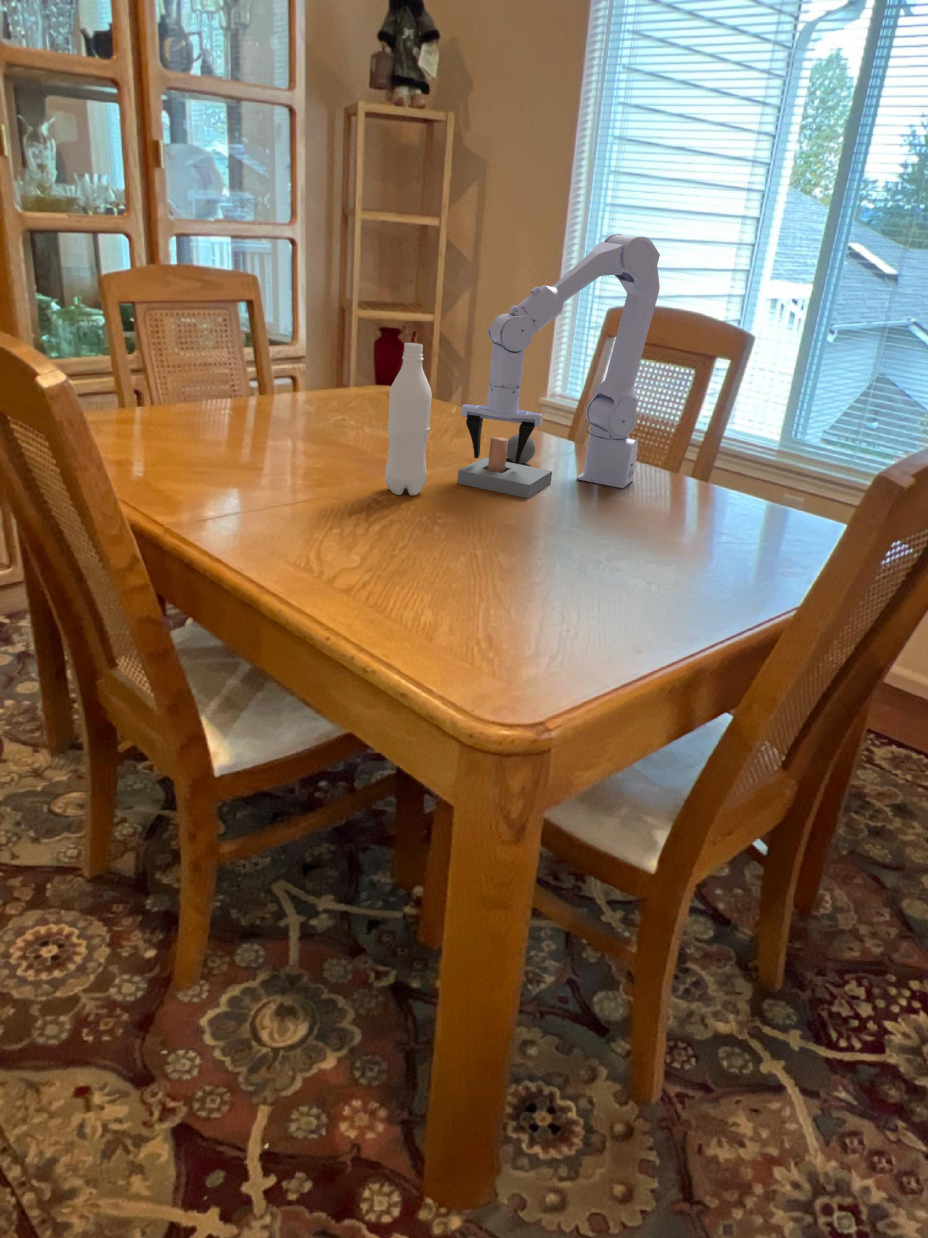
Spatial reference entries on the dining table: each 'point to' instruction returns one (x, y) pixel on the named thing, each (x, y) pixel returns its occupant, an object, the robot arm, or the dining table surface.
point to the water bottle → (408, 424)
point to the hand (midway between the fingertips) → (497, 459)
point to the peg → (497, 454)
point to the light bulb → (527, 451)
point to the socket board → (505, 478)
